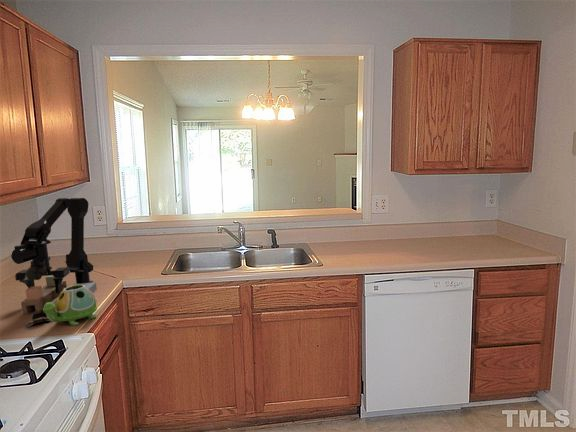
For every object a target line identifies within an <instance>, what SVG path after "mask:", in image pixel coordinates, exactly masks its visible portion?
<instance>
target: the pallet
mask: <svg viewBox="0 0 576 432" xmlns="http://www.w3.org/2000/svg"><path fill="white" fill-rule="evenodd" d="M67 287H68V286H67V281H66V280H64V281H63V280H62V283H61V286H60V289H59V292H58V293H57V294H56V290H55V286H47V284H45V285H44V286H43V287H42V292H43V296H42V297H41V298H39V299H37V300H27V298H26V299H24V300H22V301H21V302H20V305H21V312H22V314H23V315H28V314H30V312H32V311H33V310H35V311H38V312H39V311H40V310H43V308H44V306H45V304H46V303H48V302H52V301H53V300H55V299H56V298H57V297H58V296H59V295H60V293H61V292H62V291H63V289H64V288H67Z"/></svg>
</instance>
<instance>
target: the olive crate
mask: <svg viewBox="0 0 576 432" xmlns="http://www.w3.org/2000/svg"><path fill="white" fill-rule="evenodd" d="M54 278H55V277H54V276H53V275H49V276H45V283H46V284H45V285H47V286H55V281H54V280H53V279H54Z"/></svg>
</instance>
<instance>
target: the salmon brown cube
mask: <svg viewBox="0 0 576 432" xmlns="http://www.w3.org/2000/svg"><path fill="white" fill-rule="evenodd" d="M42 288H43V287H42V285H38V286H37V285H36V286H34V287H30V288H28V287H27V288H26V289H25V295H26V299H27V300H37V299H39V298H41V297H42V296H43V292H42Z"/></svg>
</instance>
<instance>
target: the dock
mask: <svg viewBox="0 0 576 432" xmlns="http://www.w3.org/2000/svg"><path fill="white" fill-rule="evenodd" d="M80 284H81V285H85V287H86V288H88V289H89V290H91V292H92V293H93V294H94V293H95V291H96V290H97V289H98V287H97V282H92V283H80ZM74 285H79V284H78V283H76V282H75V283H74V284H72V285H71V286H74ZM70 290H74V289H70ZM58 297H59V296H58ZM58 297H57V298H56V299H55V300H53V301H52V303H53V304H54V305H55V306H56V302H57V299H58ZM55 313H56V310H55Z"/></svg>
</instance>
